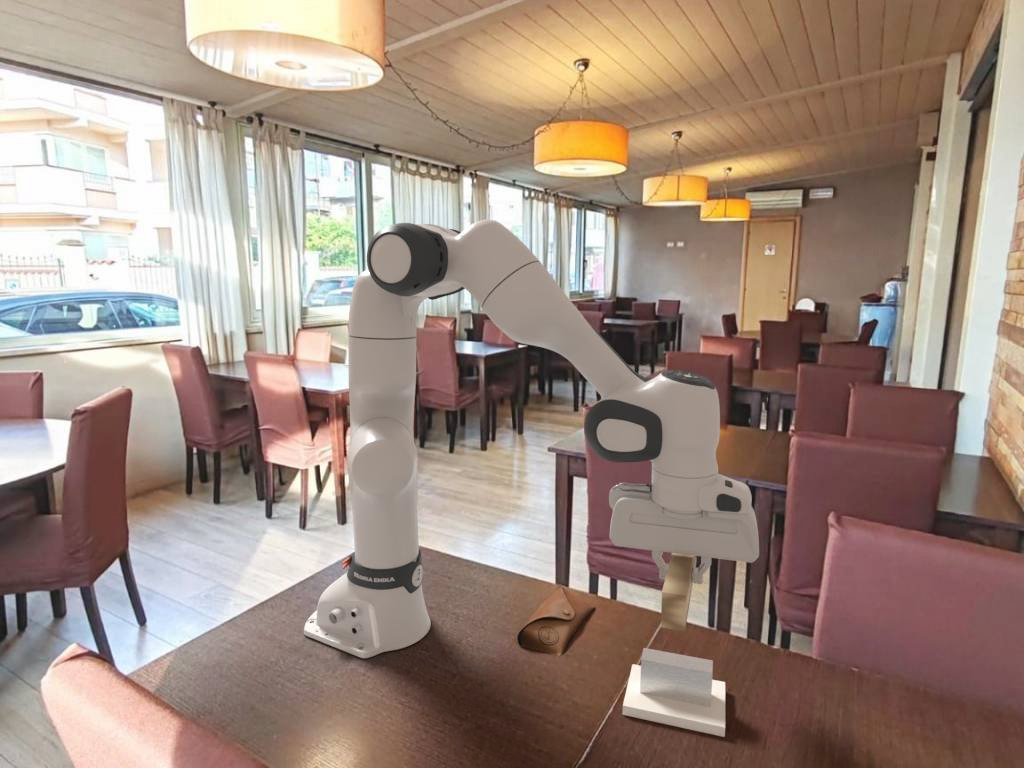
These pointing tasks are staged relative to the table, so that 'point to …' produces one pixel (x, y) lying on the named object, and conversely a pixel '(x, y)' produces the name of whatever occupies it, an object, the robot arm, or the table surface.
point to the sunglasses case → (554, 622)
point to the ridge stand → (676, 692)
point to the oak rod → (677, 591)
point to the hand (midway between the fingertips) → (680, 580)
